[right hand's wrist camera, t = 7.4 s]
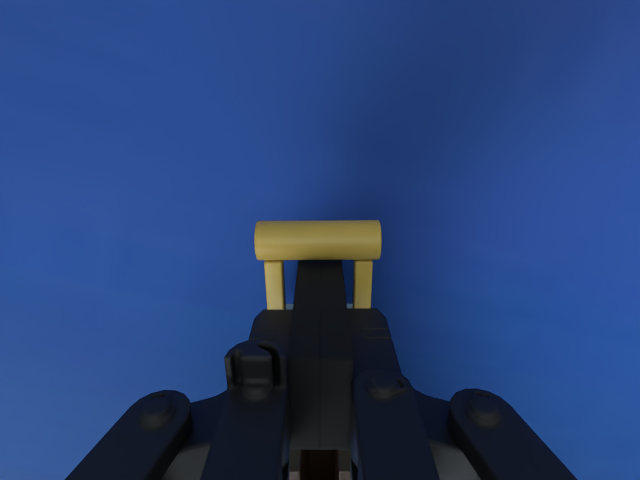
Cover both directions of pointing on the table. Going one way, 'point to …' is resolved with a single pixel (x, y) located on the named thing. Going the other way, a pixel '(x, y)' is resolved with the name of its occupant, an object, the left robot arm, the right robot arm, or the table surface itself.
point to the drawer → (274, 247)
